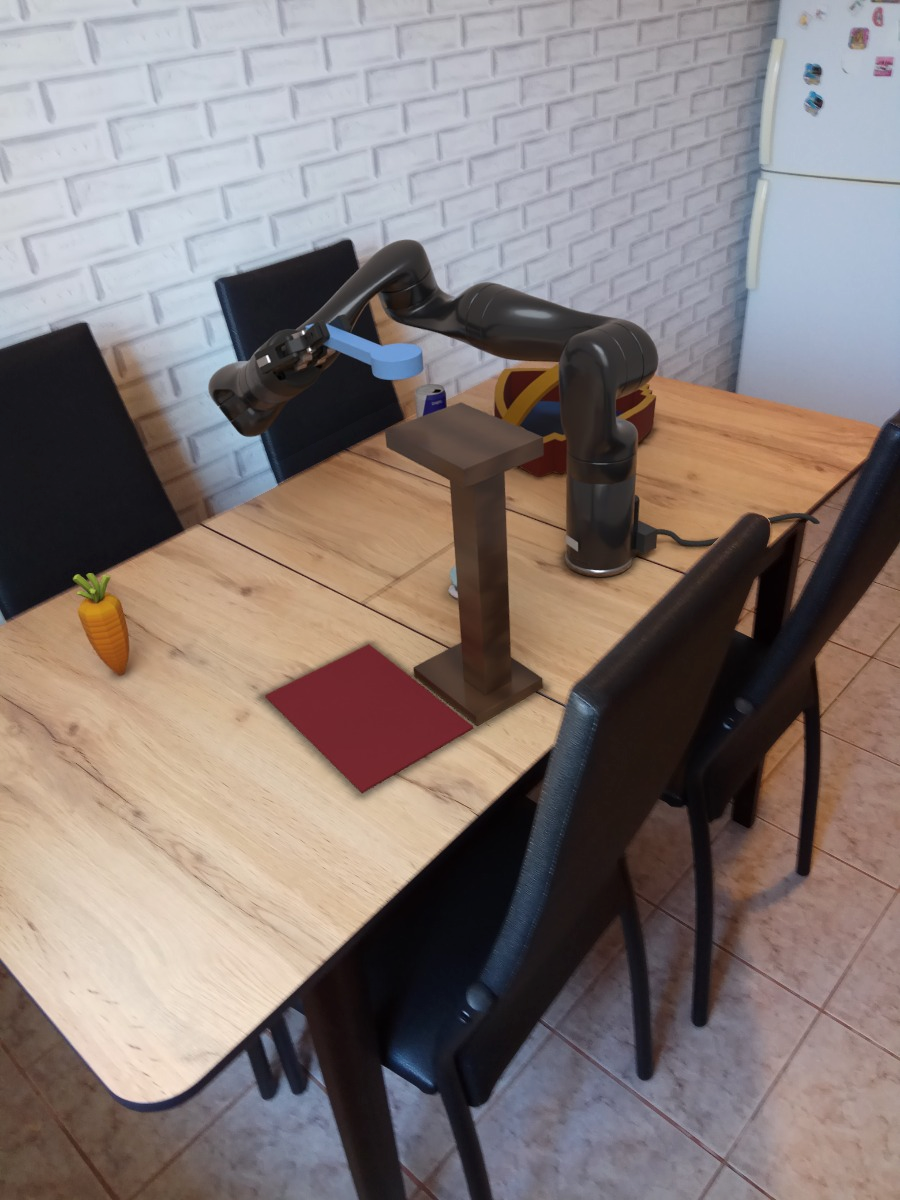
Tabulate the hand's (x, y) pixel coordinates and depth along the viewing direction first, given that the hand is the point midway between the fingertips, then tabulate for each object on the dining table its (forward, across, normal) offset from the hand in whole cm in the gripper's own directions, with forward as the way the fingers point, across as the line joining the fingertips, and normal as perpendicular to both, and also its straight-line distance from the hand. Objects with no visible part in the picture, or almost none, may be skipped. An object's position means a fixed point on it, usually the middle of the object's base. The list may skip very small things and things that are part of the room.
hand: (335, 326), depth 104 cm
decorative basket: (-37, +56, +23) cm, 71 cm away
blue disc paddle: (+3, 0, +4) cm, 5 cm away
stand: (0, 0, +44) cm, 44 cm away
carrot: (-27, -32, +29) cm, 51 cm away
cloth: (-3, -13, +42) cm, 44 cm away
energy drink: (-47, +35, +17) cm, 61 cm away
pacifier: (-13, +12, +37) cm, 41 cm away
